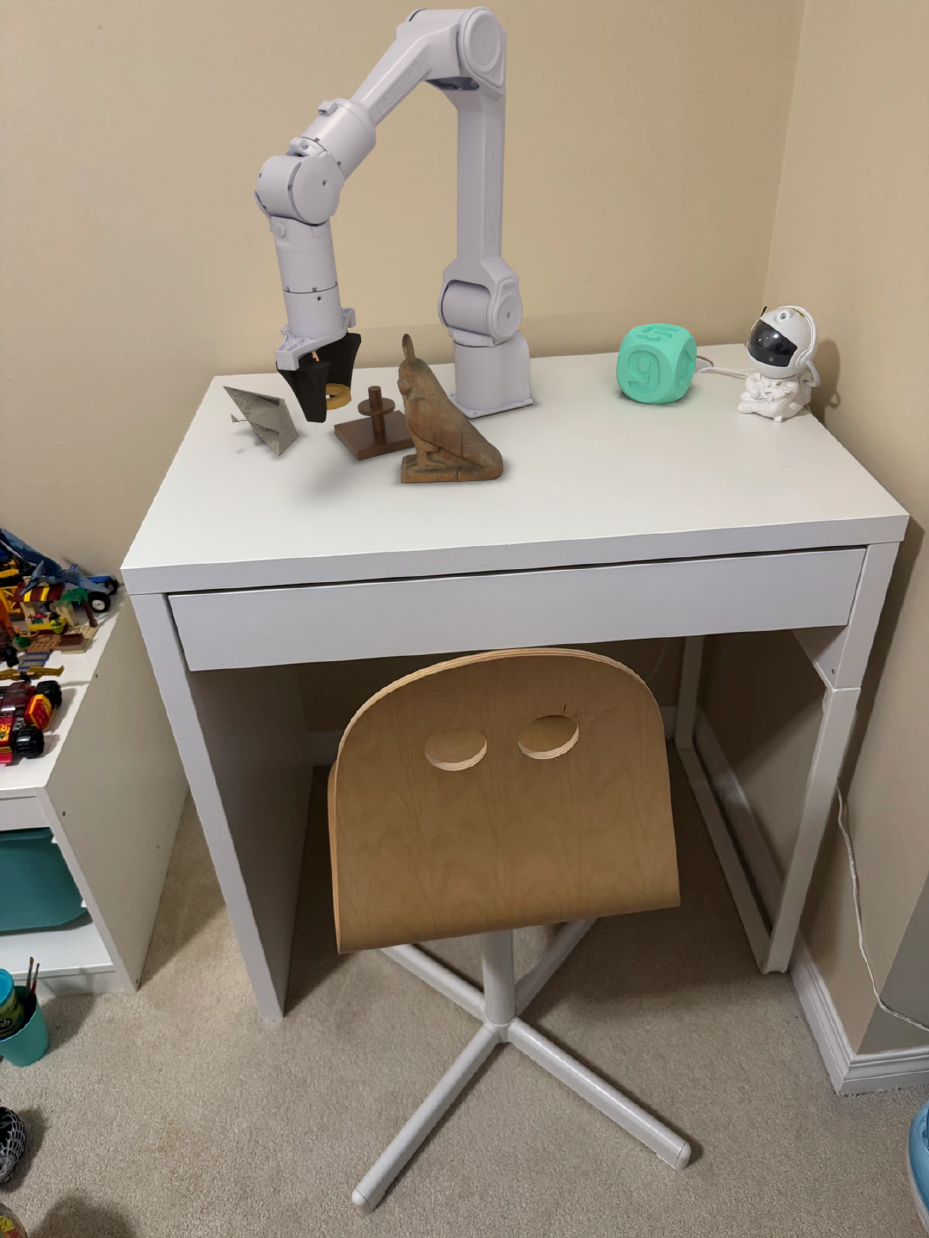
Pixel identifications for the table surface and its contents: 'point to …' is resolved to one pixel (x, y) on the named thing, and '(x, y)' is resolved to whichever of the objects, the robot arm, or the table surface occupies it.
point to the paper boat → (266, 417)
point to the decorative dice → (656, 363)
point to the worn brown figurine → (440, 430)
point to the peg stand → (375, 428)
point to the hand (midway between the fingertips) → (328, 410)
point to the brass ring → (339, 400)
